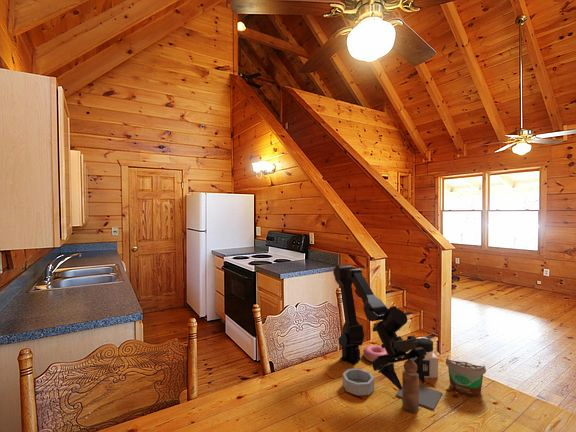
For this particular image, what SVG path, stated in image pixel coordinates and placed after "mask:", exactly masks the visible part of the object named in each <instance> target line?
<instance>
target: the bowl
mask: <svg viewBox="0 0 576 432" xmlns="http://www.w3.org/2000/svg"><path fill="white" fill-rule="evenodd" d="M342 386H343V388H344V390H345V391H346V392H348V393H350V394H352V395H355V396H370V394H372V393H373V391H375V377H374V376H373V375H372V373H371V372H370V371H369V370H365V369H361V368H348V369H346V370H345V371H344V372H343V373H342Z"/></svg>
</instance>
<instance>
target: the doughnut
mask: <svg viewBox="0 0 576 432" xmlns="http://www.w3.org/2000/svg"><path fill="white" fill-rule="evenodd" d="M362 354H363V356H364V358H365V359H366V360H367V361H369V362H371V363H372V361H374V360H375V359H376V358H377V357H378V356H382V355H388V354H387V352H386V350H385V348H382V347H381V345H375V344H371V345H366V346H365V347H364V348H363V353H362Z"/></svg>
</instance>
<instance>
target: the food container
mask: <svg viewBox="0 0 576 432" xmlns="http://www.w3.org/2000/svg"><path fill="white" fill-rule="evenodd" d="M445 364H446V366H447V370H448V379H449V380H448V381H449V386H450V388H451V390H452V391H453V392H455V393H456V392H457V394H458V393H459V395H461V396H463V395H464V397H469V398H476V397H479V396H480V395H481V393H482V385H483V378H484V375H485V374H486V373H487V368H486V365H483V366H482V365H477V364H473V363H470V362H467V361H459V360H458V361H457V360H451V359H449V357H448V356H447V357H446V359H445Z"/></svg>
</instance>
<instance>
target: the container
mask: <svg viewBox="0 0 576 432" xmlns="http://www.w3.org/2000/svg"><path fill="white" fill-rule="evenodd" d="M416 339H417V341H418V345H417V346H415V347H416V348H418V347H422V348H424V350H425V352H426V353H427V355H425V358H424V359H423V362H422V366H423V373H424V378H425V379H426V378H427V379H430V378H431V379H437V378H439V358H438V356H437V355H436V354H435V353H434V342H433V340H431V339H430V338H428V337H424V336H422V337H421V336H419V337H416ZM410 351H411V350H410Z"/></svg>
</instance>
